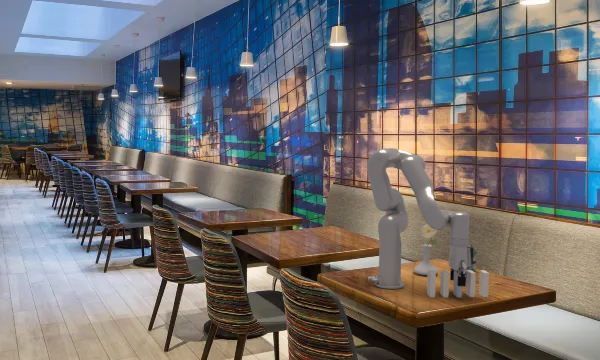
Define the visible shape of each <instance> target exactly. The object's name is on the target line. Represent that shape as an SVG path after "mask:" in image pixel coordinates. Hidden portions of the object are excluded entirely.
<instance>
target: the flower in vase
mask: <svg viewBox="0 0 600 360" xmlns="http://www.w3.org/2000/svg"><path fill="white" fill-rule="evenodd" d="M420 232H421V239H422V240H423V241H425V242H426V243H427V244H421V247H422V250H423V260H422V261H421V262H420V263H419V264H417V265H416V266H415V267H414V268H413V272H414V273H416V274H418V275H422V276H428V270H433V271H434V272H435V273H436V275H437V274H438V272H439V270H438V268H437V267H436V266H435V265H434V264H433V263H431V261H430V260H429V259H430V257H429V256H430V252H431V251H430V250H431V248H432V247H433V245H438V242H437V240H436V239H435V238H434V237H435V235H436V234H437V232H438V230H435V229H433V228H431V227H430V226H429V225H428V223H426V224H424V226H422V228H421V230H420ZM433 238H434V239H433ZM427 239H430V240H429V242H428V240H427ZM430 243H431V244H432V245H431V244H430Z"/></svg>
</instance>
